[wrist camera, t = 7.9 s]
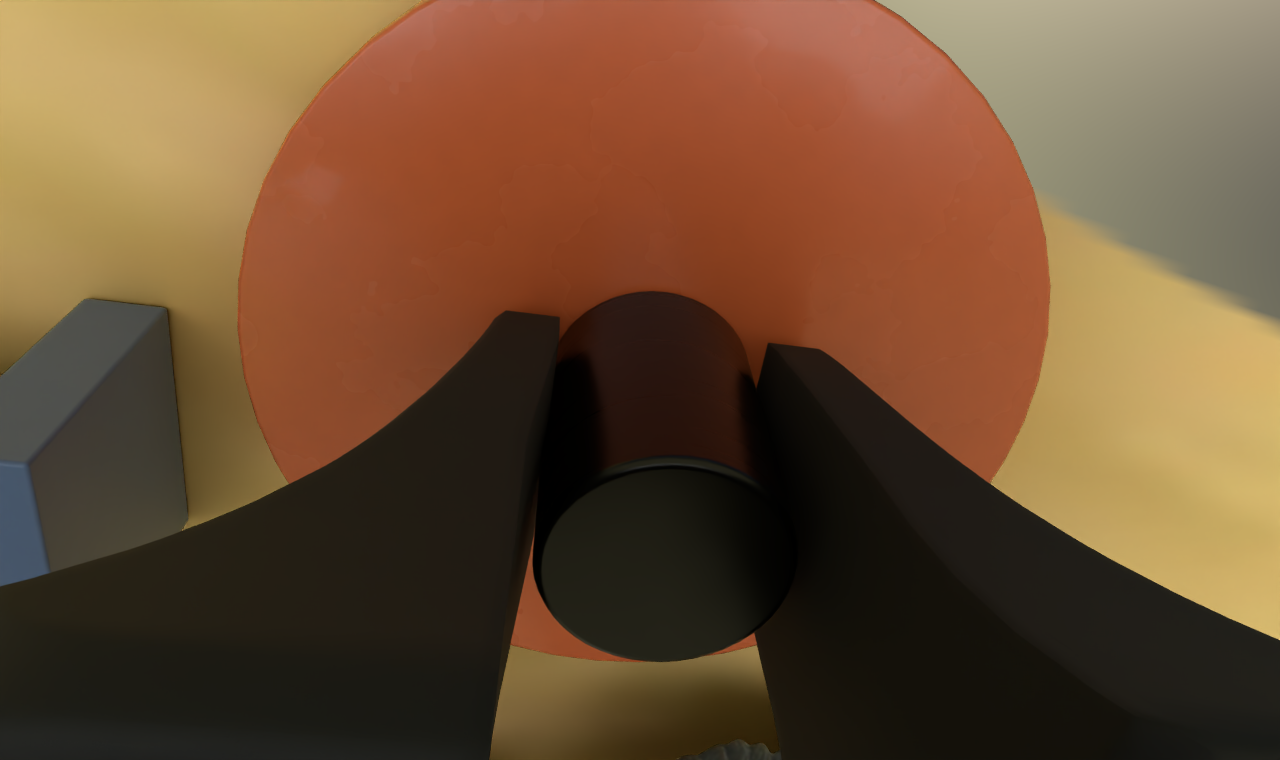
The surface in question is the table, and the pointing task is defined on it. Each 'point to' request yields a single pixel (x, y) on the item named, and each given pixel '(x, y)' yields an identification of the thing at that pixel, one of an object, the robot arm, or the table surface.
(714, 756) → the eagle figurine
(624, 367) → the lid
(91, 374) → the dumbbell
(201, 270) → the table surface
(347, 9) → the table surface
